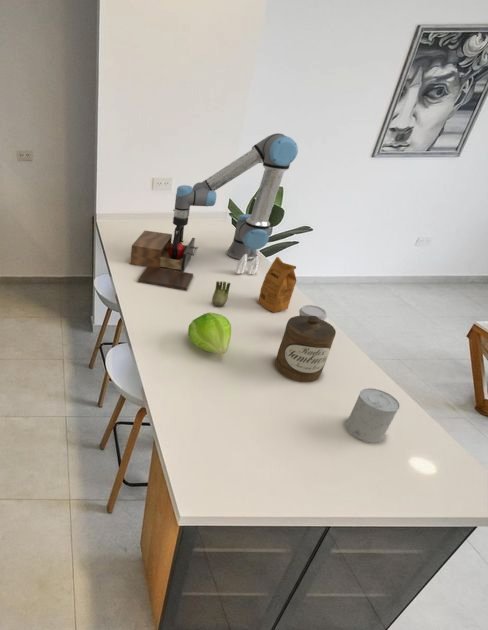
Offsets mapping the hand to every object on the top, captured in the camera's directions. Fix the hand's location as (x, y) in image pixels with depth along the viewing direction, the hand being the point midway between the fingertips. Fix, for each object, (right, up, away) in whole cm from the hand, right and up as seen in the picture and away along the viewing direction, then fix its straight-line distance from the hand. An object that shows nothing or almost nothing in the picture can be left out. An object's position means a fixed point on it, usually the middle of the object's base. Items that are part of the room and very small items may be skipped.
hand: (175, 256), depth 230 cm
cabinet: (-12, 0, +7) cm, 14 cm away
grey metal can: (+29, -66, -104) cm, 127 cm away
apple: (0, -1, +1) cm, 1 cm away
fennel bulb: (+9, -28, -40) cm, 49 cm away
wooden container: (+23, -51, -79) cm, 97 cm away
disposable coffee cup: (+36, -41, -62) cm, 82 cm away
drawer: (0, -2, +1) cm, 2 cm away
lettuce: (-5, -45, -67) cm, 81 cm away
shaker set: (+33, -11, -12) cm, 36 cm away
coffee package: (+33, -28, -41) cm, 59 cm away
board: (-9, -14, -16) cm, 23 cm away
